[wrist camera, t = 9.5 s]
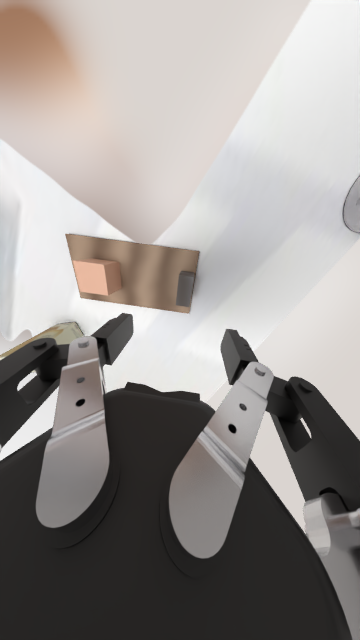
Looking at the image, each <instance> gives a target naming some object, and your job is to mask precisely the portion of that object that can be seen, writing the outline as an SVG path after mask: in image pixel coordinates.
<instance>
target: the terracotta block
mask: <svg viewBox="0 0 360 640" xmlns="http://www.w3.org/2000/svg"><path fill="white" fill-rule="evenodd" d="M73 264H74V268H75V272H76V277H77V281H78V285H79V289H80V292H86V293H93V294H100V295H107V296H108V295H110V294H112V293H114V292H116V291H118V290H119V289H121V288H122V285H121V274H120V263H119V262H115V261H108V260H101V259H83V260H73Z"/></svg>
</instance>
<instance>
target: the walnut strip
mask: <svg viewBox="0 0 360 640" xmlns="http://www.w3.org/2000/svg"><path fill="white" fill-rule="evenodd" d="M65 235H66V239H67V243H68V247H69V251H70V255H71V260H72V264H73V260H83V259H101V260H108V261H115V262H119V263H120V274H121V285H122V288H121V289H119V290H118V291H116V292H114V293H112V294H110V295H108V296H107V295H100V294H93V293H86V292H80V289H79V292H80V297H81V298H85V299H92V300H99V301H105V302H112V303H119V304H126V305H133V306H140V307H147V308H154V309H161V310H168V311H175V312H182V313H189V311H190V305H191V299H192V293H193V287H194V281H195V275H196V268H197V262H198V256H199V251H192V250H184V249H177V248H169V247H162V246H154V245H147V244H139V243H132V242H124V241H117V240H109V239H102V238H94V237H87V236H79V235H72V234H65ZM73 268H74V264H73ZM74 272H75V268H74ZM75 276H76V272H75ZM76 280H77V277H76ZM77 284H78V281H77ZM78 288H79V285H78Z"/></svg>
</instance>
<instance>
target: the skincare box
mask: <svg viewBox="0 0 360 640" xmlns="http://www.w3.org/2000/svg"><path fill="white" fill-rule="evenodd" d="M82 336H83V334H82V332H81V330H80V329H79V327H78V326H77V324H76V323H75V322H71V323H63V324H57V325H54V326H53V327H51V328H49V329H47V330H45V331H44V332H42V333H40V334H38V335H36V336H34V337H33V338H31V339H29V340H27V341H25V342H23V343H22V344H20V345H18V346H16V347H14V348H13V349H11V350H9V351H7V352H5V353H3V354H2V355H0V360H2V359H3V358H5V357H7V356H8V355H10V354H12V353H13V352H15V351H16V350H18V349H20V348H21V347H23V346H25V345H26V344H28V343H30V342H32V341H34V340H37V339H41V338H53V339H55V340H56V342H57V345H61V344H70V343H71V342H72V341H74V340H75V339H77V338H80V337H82ZM31 373H36V371H35V370H33V371H32V372H31Z"/></svg>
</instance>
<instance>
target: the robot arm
mask: <svg viewBox="0 0 360 640" xmlns="http://www.w3.org/2000/svg"><path fill="white" fill-rule="evenodd" d="M344 220H345V223H346V225H347V227H348V228H350V229H351V230H352V231H354V232H357V233H360V177H359V178H358V179H357V180H356V182H355V183H354V185H353V187H352V188H351V190H350V192H349V194H348V196H347V199H346V202H345V206H344ZM132 335H133V317H132V315H131V314H125V313H122V314H121V315H119V316H118V317H117V318H114V319H111V320H109V321H108V322H107V323H106V324H104V325H103V326H102V327H101V328H100V329H98V330H97V331H96V332H95V333H94V334H92V335H91V336H84V337H80V338H77V339H75V340H74V341H72V342H71V343H70V344H61V345H57V342H56V340H55V339H53V338H41V339H37V340H34V341H32V342H30V343H28V344H26V345H25V346H23V347H21V348H20V349H18V350H16V351H15V352H13V353H12V354H10V355H8V356H7V357H5V358H3V359H2V360H0V452H1V448H2V447H3V446H4V445H5V444H6V443H7V442H8V441H9V440H10V439H11V437H12V436H13V435H14V434H15V433H16V432H17V431H18V430H19V429H20V428H21V427H22V425H23V424H24V423H25V422H26V421H27V420H28V419H29V418H30V417H31V415H32V414H33V413H34V412H35V411H36V410H37V409H38V408H39V407H40V406H41V405H42V404H43V402H44V401H45V400H46V399H47V398H48V397H49V396H50V395H51V394H52V393H53V392H54V391H55V389H56V388H57V387H58V386H59V392H58V398H57V404H56V411H55V417H54V425H53V427H52V428H51V429H49V430H48V431H46V432H45V433H43V434H42V435H40V436H39V437H37V438H35V439H34V440H32V441H31V442H30V443H28V444H26V445H25V446H23V447H21V448H20V449H18V450H17V451H15V452H14V453H12V454H10V455H9V456H7V457H6V458H4V459H3V460H1V461H0V640H360V441H359V439H357V437H356V436H355V435H354V433H353V432H352V431H351V430H350V428H349V427H348V426H347V425H346V424H345V422H344V421H343V420H342V419H341V417H340V416H339V415H338V414H337V413H336V411H335V410H334V409H333V408H332V406H331V405H330V404H329V403H328V401H327V400H326V399H325V398H324V397H323V395H322V394H321V393H320V392H319V390H318V389H317V388H316V387H315V386H314V385H312V384H311V383H309V382H308V381H306V380H304V379H302V378H299V377H291V378H290V379H289V381H285V380H283V379H280V378H278V377H275V376H274V375H273V373H272V371H271V370H270V369H269V368H268V367H266V366H265V365H263V364H261V363H259V362H258V360H257V358H256V356H255V355H254V353H253V351H252V349H251V348H250V347H249V344H248V342H247V341H246V340H245V339H244V338H243V337H240V336H239V334H238V332H237V330H232V329H226V331H225V334H224V337H223V340H222V343H221V353H222V357H223V361H224V365H225V369H226V373H227V377H228V381H229V384H230V385H233V387H232V388H231V389H230V391H229V393H228V394H227V396H226V397H225V399H224V400H223V402H222V403H221V405H220V406H219V408H218V409H217V411H215V410H214V409H213V408H211V407H210V406H209V405H208V404H206V403H204V402H203V401H200V394H197V393H191V392H185V391H175V392H160V391H158V390H155V389H153V388H151V387H149V386H146V385H143V384H137V383H131V382H127V384H126V386H125V388H120V389H116V390H113V391H110V392H108V393H107V392H106V385H105V379H104V372H103V366H104V365H105V364H107V365H112V364H113V362H114V361H115V359H116V358H117V357H118V355H119V354H120V352H121V351H122V350H123V348H124V347H125V345H126V344H127V343H128V341H129V340H130V339H131V337H132ZM33 370H35V371H36V373H37V376H35V377H34V378H33V379H32V380H31V381H30V382H29V383H27V384H26V385H25V386H24V387H23V388H22V389H20V390H19V391H17V386H18V384H19V382H20V381H21V380H22V379H23V378H25V377H26V376H27V375H28V374H30V373H31V372H32V371H33ZM265 411H267V412H269V413H270V415H271V417H272V419H273V422H274V425H275V427H276V430H277V432H278V434H279V437H280V440H281V442H282V444H283V447H284V449H285V451H286V454H287V457H288V459H289V462H290V464H291V467H292V469H293V472H294V474H295V476H296V479H297V481H298V484H299V487H300V489H301V491H302V494H303V497H304V499H305V502H306V503H305V504H304V508H303V514H304V520H305V523H306V524H305V532H306V534H305V533H304V531H303V530H302V529H301V527H300V526H299V524H298V523H297V522H296V520H295V519H294V518H293V516H292V515H291V513H290V512H289V511H288V509H287V508H286V507H285V505H284V504H283V503H282V501H281V500H280V498H279V497H278V496H277V494H276V493H275V492H274V490H273V489H272V488H271V486H270V485H269V483H268V482H267V480H266V479H265V478H264V477H263V475H262V474H261V472H260V471H259V470H258V468H257V467H256V466H255V464H254V463H253V461H252V460H251V459H250V454H251V451H252V448H253V444H254V442H255V439H256V436H257V433H258V430H259V427H260V424H261V421H262V418H263V415H264V412H265ZM301 418H303V419H304V421H305V423H306V424H307V426H308V428H309V429H310V432H311V438H310V436H309V434H308V433H307V431H306V429H305V427H304V425H303V424H302V422H301V420H300V419H301ZM306 535H307V536H306Z"/></svg>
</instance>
